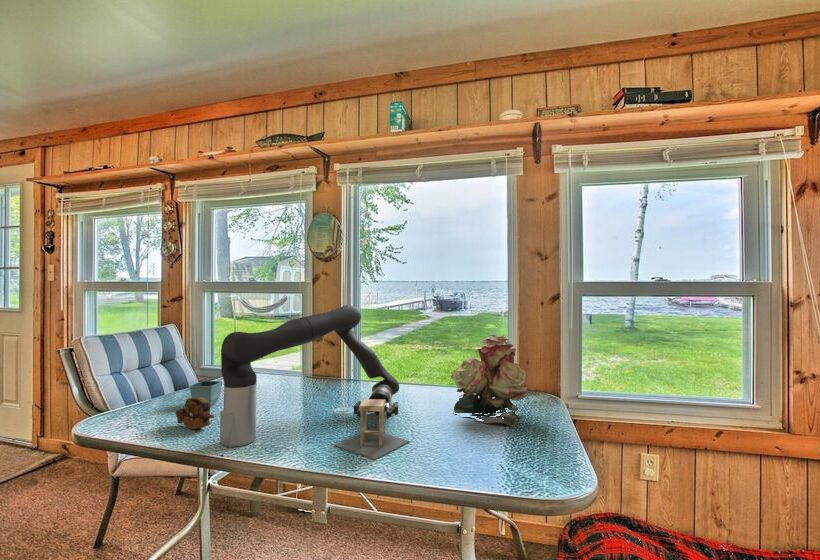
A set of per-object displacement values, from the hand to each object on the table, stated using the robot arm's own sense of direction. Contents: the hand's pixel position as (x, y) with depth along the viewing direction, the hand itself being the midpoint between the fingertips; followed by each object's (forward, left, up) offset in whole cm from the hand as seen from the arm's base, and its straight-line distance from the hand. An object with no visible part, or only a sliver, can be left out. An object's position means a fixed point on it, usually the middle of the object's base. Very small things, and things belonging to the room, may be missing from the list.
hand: (373, 415), depth 118 cm
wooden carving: (-27, +56, -8) cm, 63 cm away
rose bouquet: (+47, -18, -8) cm, 51 cm away
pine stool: (-1, -1, -8) cm, 8 cm away
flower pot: (-12, +79, -8) cm, 81 cm away
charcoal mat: (-1, -1, -8) cm, 8 cm away
